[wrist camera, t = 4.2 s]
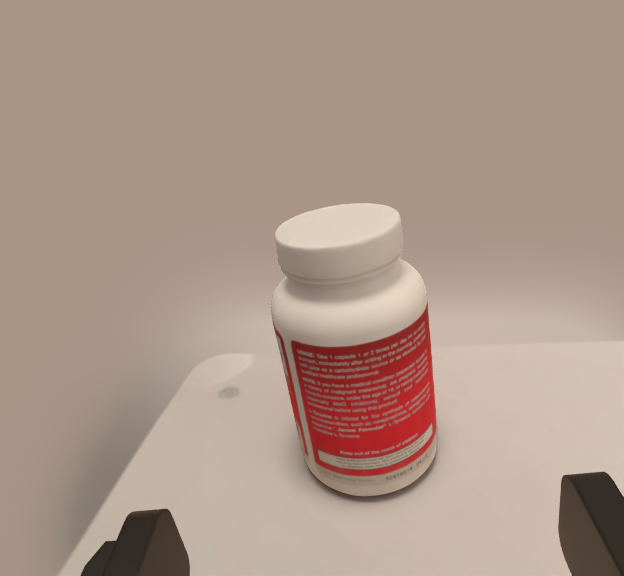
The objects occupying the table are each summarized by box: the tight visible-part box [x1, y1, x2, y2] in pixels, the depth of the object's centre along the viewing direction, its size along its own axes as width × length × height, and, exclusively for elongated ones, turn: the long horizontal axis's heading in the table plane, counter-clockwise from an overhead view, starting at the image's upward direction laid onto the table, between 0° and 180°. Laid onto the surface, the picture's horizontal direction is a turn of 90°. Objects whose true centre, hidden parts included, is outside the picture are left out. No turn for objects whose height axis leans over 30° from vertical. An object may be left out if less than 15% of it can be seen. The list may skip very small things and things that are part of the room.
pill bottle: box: [271, 203, 437, 496], centre depth 21 cm, size 6×6×11 cm
